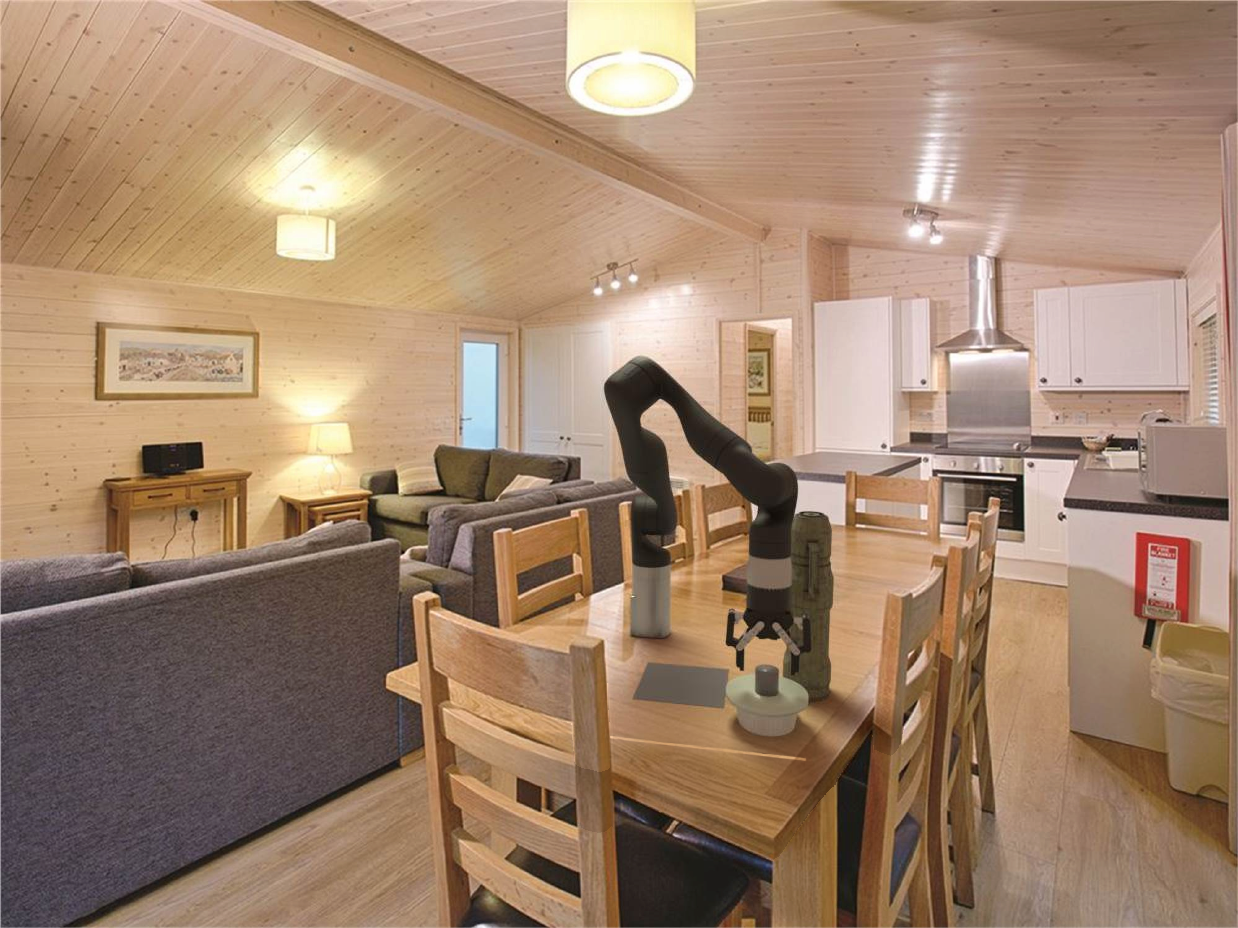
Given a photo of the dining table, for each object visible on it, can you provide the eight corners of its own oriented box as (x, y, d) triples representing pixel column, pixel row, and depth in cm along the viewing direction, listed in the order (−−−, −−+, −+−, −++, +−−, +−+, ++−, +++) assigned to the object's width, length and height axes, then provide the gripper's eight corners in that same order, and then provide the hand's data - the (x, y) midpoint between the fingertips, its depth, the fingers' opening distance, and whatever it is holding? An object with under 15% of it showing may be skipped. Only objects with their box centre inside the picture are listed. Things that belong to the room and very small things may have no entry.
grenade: (821, 677, 132) (826, 507, 128) (837, 705, 120) (844, 519, 116) (777, 676, 132) (781, 507, 129) (789, 704, 121) (794, 519, 117)
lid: (724, 712, 107) (724, 683, 107) (727, 676, 121) (727, 650, 121) (812, 720, 105) (812, 690, 104) (804, 682, 118) (805, 656, 118)
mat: (632, 701, 122) (632, 698, 122) (648, 664, 139) (648, 662, 139) (723, 710, 119) (723, 707, 118) (728, 671, 135) (728, 669, 135)
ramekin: (752, 703, 121) (753, 676, 121) (809, 722, 114) (810, 694, 114) (721, 727, 113) (722, 698, 112) (781, 749, 106) (782, 719, 105)
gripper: (725, 584, 109) (724, 677, 110) (814, 589, 105) (811, 684, 107) (728, 572, 116) (726, 659, 118) (811, 576, 113) (808, 666, 115)
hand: (767, 671), depth 112 cm, fingers open, 8 cm apart
